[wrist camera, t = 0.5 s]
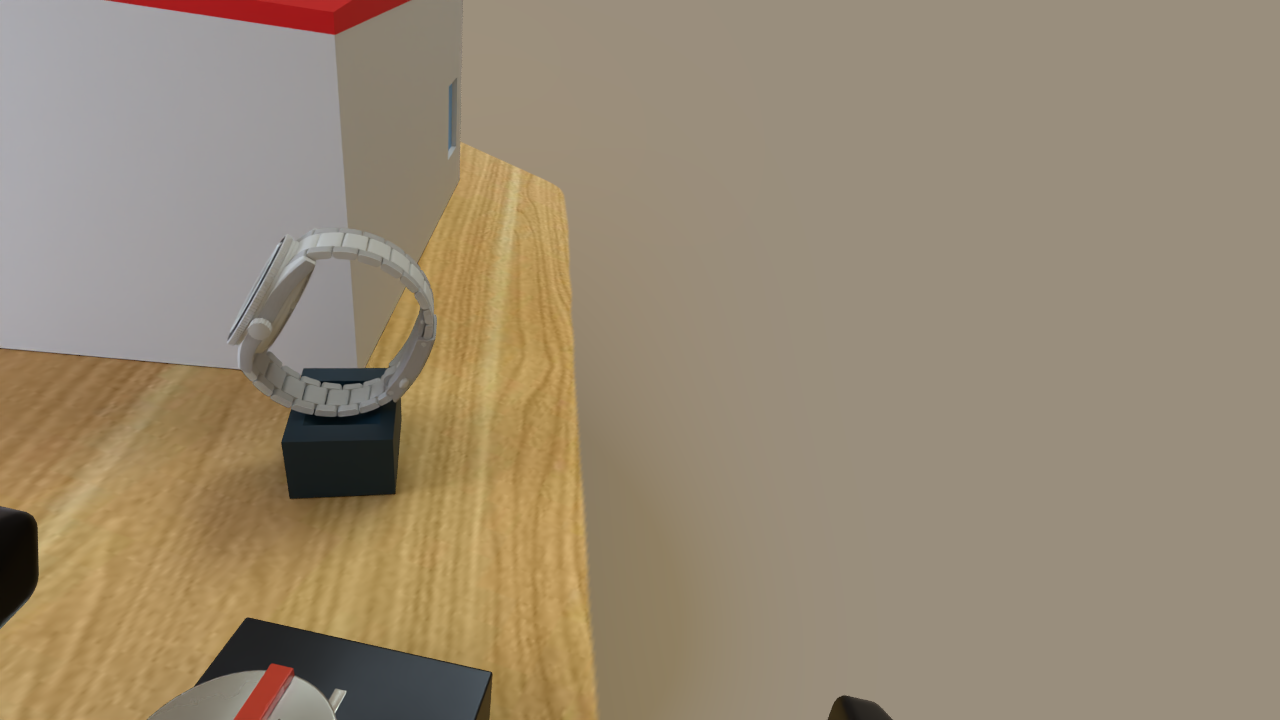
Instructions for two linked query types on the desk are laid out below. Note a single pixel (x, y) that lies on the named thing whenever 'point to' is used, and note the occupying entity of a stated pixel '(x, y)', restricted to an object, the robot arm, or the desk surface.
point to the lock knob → (250, 698)
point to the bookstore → (216, 167)
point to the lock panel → (359, 674)
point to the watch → (333, 370)
